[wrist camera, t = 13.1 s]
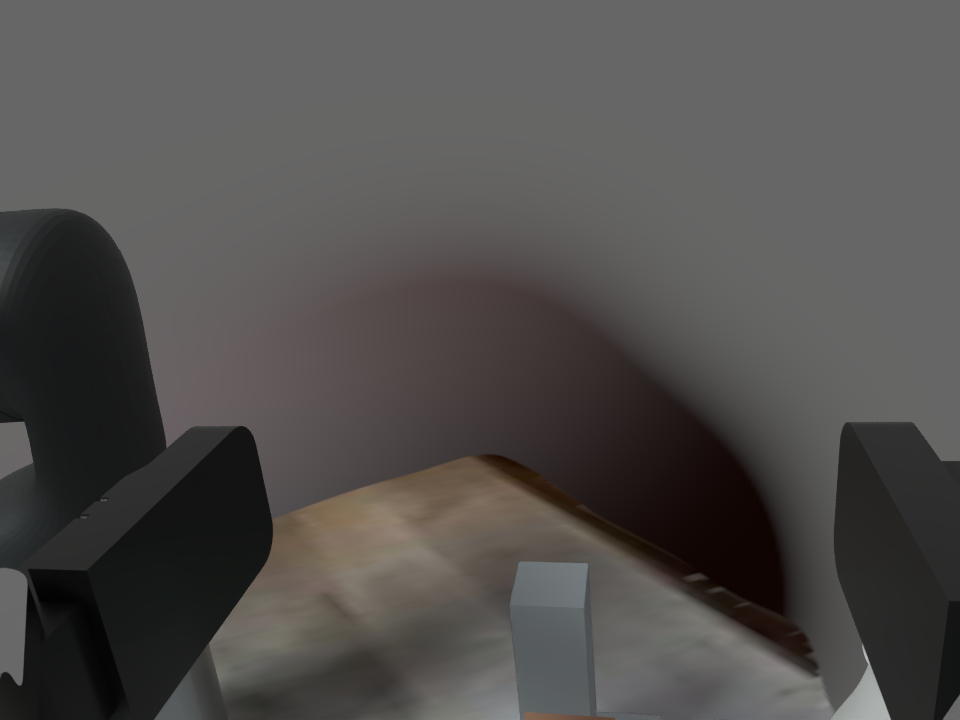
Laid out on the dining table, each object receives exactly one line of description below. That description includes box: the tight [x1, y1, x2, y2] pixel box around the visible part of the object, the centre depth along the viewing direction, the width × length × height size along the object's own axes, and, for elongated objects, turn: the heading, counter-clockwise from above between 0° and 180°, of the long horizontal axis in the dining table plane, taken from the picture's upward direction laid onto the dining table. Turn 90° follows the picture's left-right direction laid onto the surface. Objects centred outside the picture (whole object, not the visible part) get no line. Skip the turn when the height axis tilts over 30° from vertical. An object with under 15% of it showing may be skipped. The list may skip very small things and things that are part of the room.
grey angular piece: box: [509, 561, 721, 720], centre depth 40 cm, size 18×8×13 cm, turn 80°
